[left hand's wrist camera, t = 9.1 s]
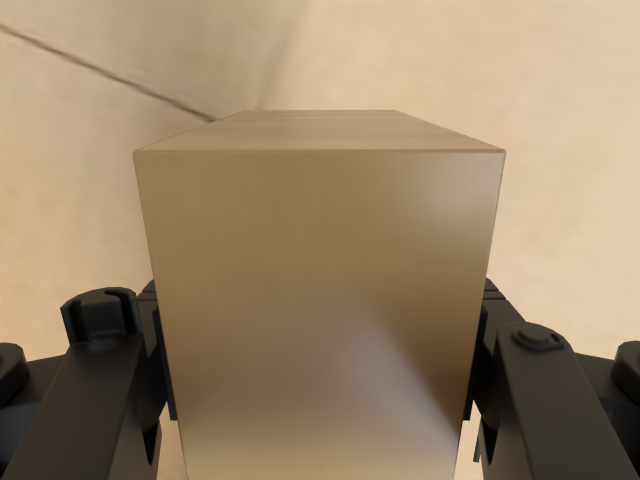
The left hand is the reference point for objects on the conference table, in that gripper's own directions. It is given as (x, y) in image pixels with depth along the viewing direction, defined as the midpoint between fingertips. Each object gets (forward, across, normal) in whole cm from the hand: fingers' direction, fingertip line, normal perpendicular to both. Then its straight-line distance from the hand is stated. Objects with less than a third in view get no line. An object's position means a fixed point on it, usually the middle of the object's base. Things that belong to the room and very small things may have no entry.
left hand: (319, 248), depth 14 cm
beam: (+1, 0, -23) cm, 23 cm away
